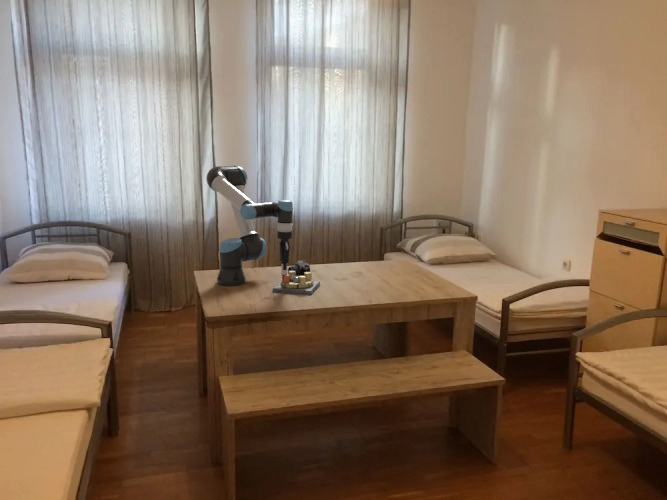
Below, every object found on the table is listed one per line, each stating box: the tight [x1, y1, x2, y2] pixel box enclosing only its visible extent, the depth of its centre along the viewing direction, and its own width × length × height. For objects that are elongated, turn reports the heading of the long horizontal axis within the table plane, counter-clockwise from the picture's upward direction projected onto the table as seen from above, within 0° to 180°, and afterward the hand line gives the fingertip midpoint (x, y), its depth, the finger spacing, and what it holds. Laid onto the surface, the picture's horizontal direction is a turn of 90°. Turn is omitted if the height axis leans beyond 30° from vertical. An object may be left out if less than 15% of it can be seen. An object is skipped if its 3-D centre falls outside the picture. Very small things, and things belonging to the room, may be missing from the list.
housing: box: [272, 276, 321, 295], centre depth 300 cm, size 20×20×6 cm
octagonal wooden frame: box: [280, 270, 314, 288], centre depth 300 cm, size 16×16×6 cm
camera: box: [287, 259, 311, 276], centre depth 322 cm, size 16×10×10 cm, turn 27°
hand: (284, 275), depth 299 cm, fingers closed
